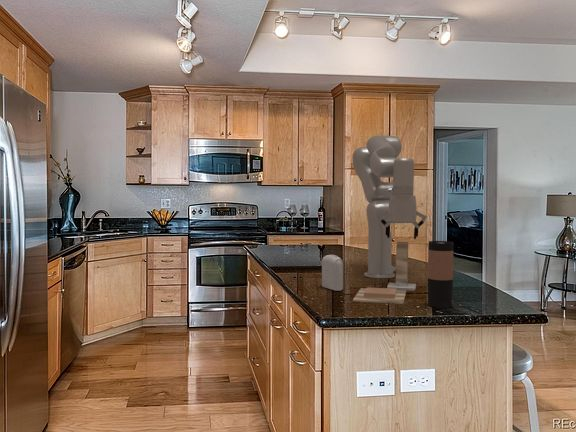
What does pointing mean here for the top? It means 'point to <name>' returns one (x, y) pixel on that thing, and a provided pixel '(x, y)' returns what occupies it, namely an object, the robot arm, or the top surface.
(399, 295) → the oak board
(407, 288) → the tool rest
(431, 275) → the travel mug
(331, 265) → the photo printer
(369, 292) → the tile
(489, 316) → the top surface
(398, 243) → the wooden block
